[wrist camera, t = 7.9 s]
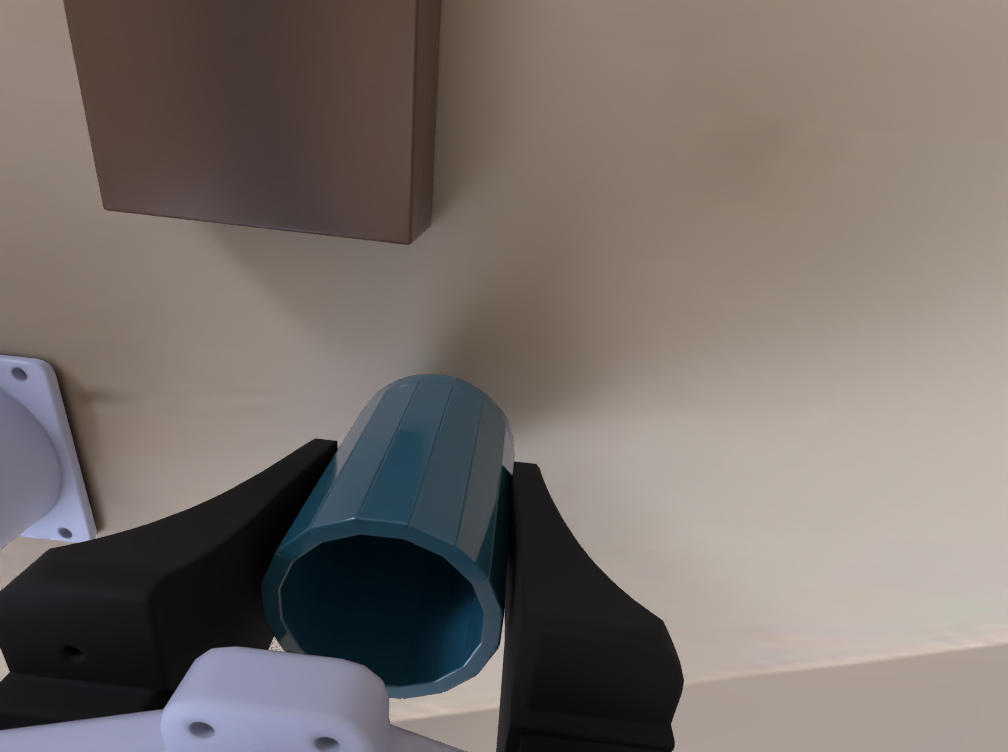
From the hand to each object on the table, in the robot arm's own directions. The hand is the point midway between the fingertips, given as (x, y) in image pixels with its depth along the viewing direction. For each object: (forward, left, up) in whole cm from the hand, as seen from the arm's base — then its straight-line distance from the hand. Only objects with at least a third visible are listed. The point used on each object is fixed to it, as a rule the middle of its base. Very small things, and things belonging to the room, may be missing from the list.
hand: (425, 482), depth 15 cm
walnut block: (-5, +10, -5) cm, 12 cm away
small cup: (0, 0, -2) cm, 2 cm away
